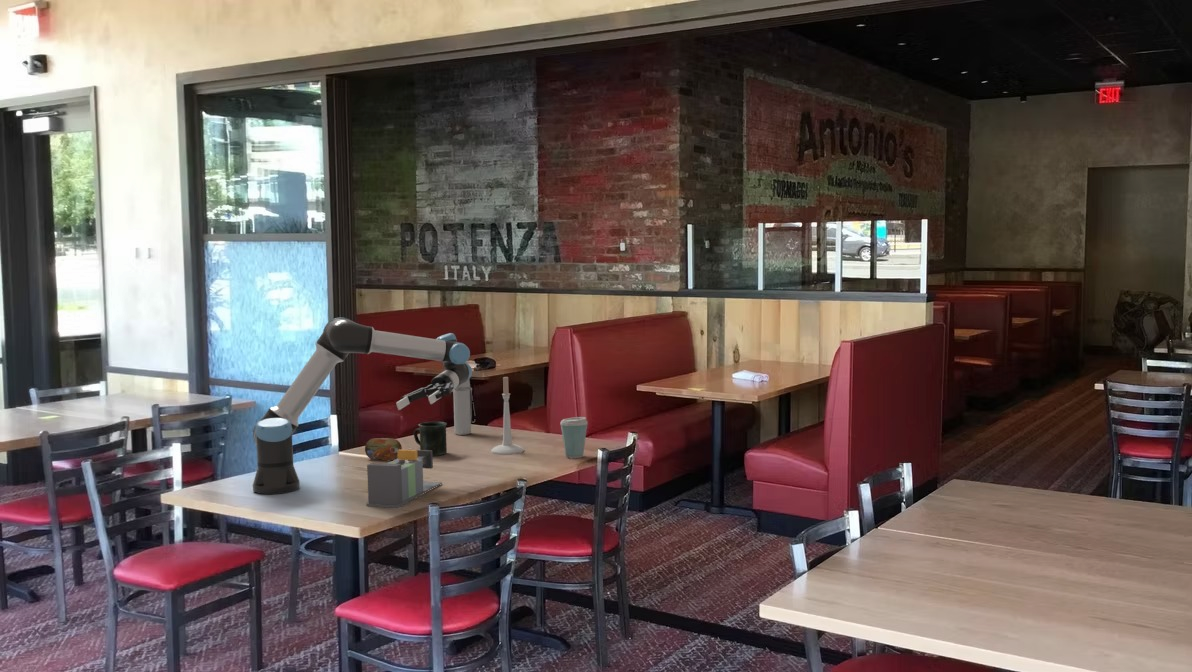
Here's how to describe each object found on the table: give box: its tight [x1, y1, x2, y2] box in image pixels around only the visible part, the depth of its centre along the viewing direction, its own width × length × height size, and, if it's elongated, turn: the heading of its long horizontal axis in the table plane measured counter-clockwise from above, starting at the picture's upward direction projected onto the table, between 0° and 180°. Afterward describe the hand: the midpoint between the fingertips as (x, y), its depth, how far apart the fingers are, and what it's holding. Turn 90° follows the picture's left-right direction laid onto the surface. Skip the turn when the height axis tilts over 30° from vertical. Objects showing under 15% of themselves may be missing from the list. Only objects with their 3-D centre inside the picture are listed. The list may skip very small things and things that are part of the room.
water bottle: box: [452, 378, 476, 436], centre depth 443 cm, size 9×8×25 cm
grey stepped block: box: [366, 458, 443, 509], centre depth 334 cm, size 32×11×13 cm, turn 164°
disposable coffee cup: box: [559, 416, 588, 459], centre depth 391 cm, size 11×11×15 cm
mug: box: [413, 421, 448, 457], centre depth 402 cm, size 11×15×12 cm
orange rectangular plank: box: [397, 448, 418, 461], centre depth 336 cm, size 2×6×3 cm, turn 73°
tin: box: [364, 437, 403, 461], centre depth 392 cm, size 15×3×8 cm, turn 71°
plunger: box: [401, 447, 434, 470], centre depth 340 cm, size 17×6×8 cm, turn 164°
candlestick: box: [490, 376, 525, 455], centre depth 403 cm, size 13×13×30 cm
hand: (413, 403), depth 352 cm, fingers open, 13 cm apart
